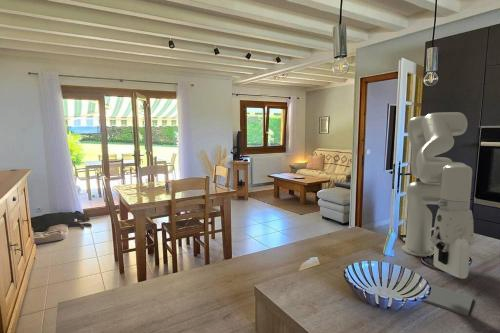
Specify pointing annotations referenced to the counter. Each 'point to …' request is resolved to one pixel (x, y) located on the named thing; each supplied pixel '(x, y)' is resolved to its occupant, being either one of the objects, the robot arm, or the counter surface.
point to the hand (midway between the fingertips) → (450, 261)
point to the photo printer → (455, 258)
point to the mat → (450, 300)
